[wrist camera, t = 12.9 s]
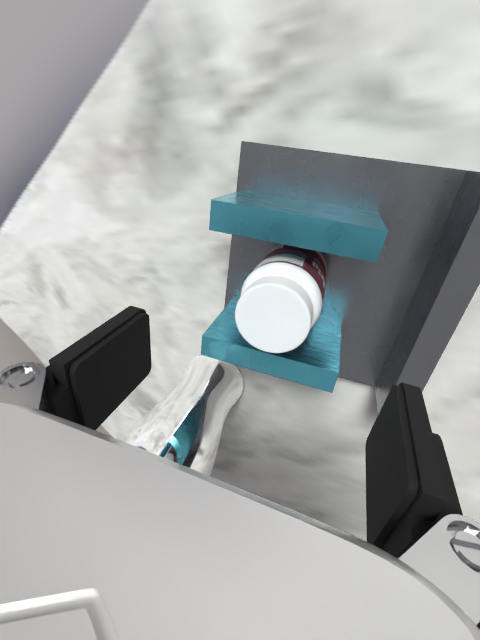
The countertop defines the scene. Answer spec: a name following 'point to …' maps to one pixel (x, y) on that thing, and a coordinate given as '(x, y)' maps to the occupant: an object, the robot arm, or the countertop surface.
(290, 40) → the countertop surface
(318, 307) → the pill bottle
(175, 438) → the beer glass
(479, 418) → the countertop surface
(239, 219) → the holder
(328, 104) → the countertop surface
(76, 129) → the countertop surface
